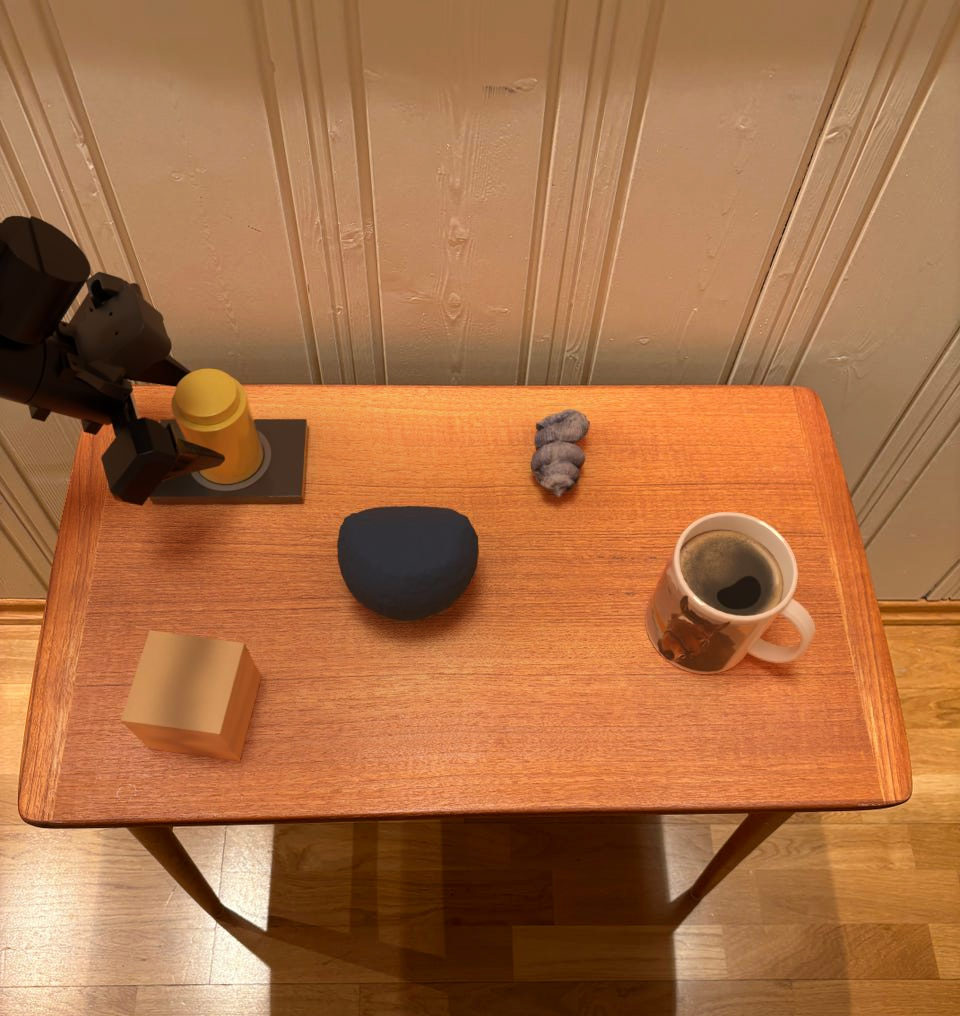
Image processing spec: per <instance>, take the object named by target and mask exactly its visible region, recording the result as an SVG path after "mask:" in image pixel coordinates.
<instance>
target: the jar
mask: <svg viewBox="0 0 960 1016" xmlns="http://www.w3.org/2000/svg"><path fill="white" fill-rule="evenodd" d="M171 410H172V414H173V417H174V419H176V422H177V424H178V426H179V428H180V431H181V433H182V435H183V438H184V440H185V441H188V442H191V443H194V444H197V445H200V446H203V447H206V448H209V449H211V450H214V451H216V452H218V453H220V454H222V455H224V456H225V461H224V462H223V463H222V464H221V465H220V466H218V467H214V468H210V469H205V470H201V471H199V472H200V474H201V475H202V476H203V477H205V478H206V479H208V480H210V481H212V482H215V483H219V484H233V483H237V482H241V481H243V480H245V479H247V478H249V477H250V476H252V475H253V474H254V473H255V472H256V471H257V470H258V468H259V467H260V465H261V463H262V460H263V447H262V444H261V441H260V438H259V434H258V431H257V428H256V424H255V421H254V419H255V418H254V415H253V412H252V409H251V405H250V402H249V399H248V395H247V393H246V390H245V388H244V386H243V385H242V384H241V383H240V382H239V381H238V380H237V379H236V378H235V377H232V376H231V375H229V374H228V373H226V372H225V371H223V370H220V369H216V368H201V369H196V370H194V371H191V373H189V374H188V375H186V376H185V377H184V378H182V379H181V381H180V382H179V383H178V385H177V387H175V391H174V393H173V395H172V398H171Z"/></svg>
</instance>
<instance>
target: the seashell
mask: <svg viewBox="0 0 960 1016" xmlns="http://www.w3.org/2000/svg"><path fill="white" fill-rule="evenodd" d="M590 426H591V421H590V420H588V419H587V415H586V414H584V413H582V412H580V411H579V410H576V409H572V408H569V409H568V408H567V409H563V410H562V411H560V412H557V413H552V414H551V415H548V416H545V417H544V418H542V419H541V420H540V421H537V422H536V423H535V430H536V431H537V432H536V433H535V434H534V441H533V443H534V446H535V450H536V451H535V452H534V453H533V454H532V456H531V460H530V469H531V471H532V474H533V475H534V478H535V480H536V482H537V483H538V484H539V485H540V487H542V488H543V489H545V490H546V491H547V492H548V493H551V494H554V495H555V496H556V497H557V498H561V497H562V496H563V495H564V494H566V493H569V492H570V491H572V490H573V489H574V488H575V487H576V485H577V484H578V483H579V481H580V477H581V471H580V469H582V467H583V466H584V464H585V463H586V452H584V450H583V449H582V447H581V446H579V445H577V444H576V443H579V442H581V441H583V440H584V439H585V437H586V436H587V435H588V433H589V429H590Z"/></svg>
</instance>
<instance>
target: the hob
mask: <svg viewBox="0 0 960 1016" xmlns="http://www.w3.org/2000/svg"><path fill="white" fill-rule="evenodd" d="M307 420H308V419H307V418H254V421H255V424H256V428H257V431H258V434H259V438H260V441H261V444H262V447H263V460H262V463H261V465H260V467H259V468H258V470H257V471H256V472H255V473H254V474H253V475H252V476H250V477H249V478H247V479H245V480H243V481H241V482H237V483H233V484H219V483H215V482H212V481H210V480H208V479H206V478H205V477H203V476H202V475H201V474H200V472H199V471H197V472H193V473H189V474H184V475H181V476H177V477H173V478H170V479H167V480H165V481H162V482H161V483H160V484H159V486H158V487H157V488H156V489H155V491H154V492H153V493H152V494H151V495H150V497H149V498H148V499H149V500H150V502H151V504H152V505H246V504H249V505H250V504H252V505H253V504H260V505H261V504H273V505H274V504H304V503H305V501H304V500H305V485H306V484H305V483H306V467H307V454H308V453H307V452H308V436H309V424H308V421H307ZM159 423H160V424H161V425H162V426H163V427H166V426H167V425H168V423H171V424H172V427H173V429H174V431H175V433H176V435H177V437H178V438H179V439H182V440H184V438H183V435H182V433H181V431H180V428H179V426H178V424H177V422H176V419H175V418H161V419H160V420H159Z"/></svg>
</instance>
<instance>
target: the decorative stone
mask: <svg viewBox="0 0 960 1016" xmlns="http://www.w3.org/2000/svg"><path fill="white" fill-rule="evenodd" d="M474 527H475V526H473V525H472V523H471V521H470V519H469V517H468V516H467V515H465V514H463V513H460V512H458V511H457V510H455V509H452V508H448V507H439V506H427V505H401V506H399V505H397V506H396V505H394V506H392V505H389V506H375V507H371V508H366V509H363V510H360V511H359V512H352V513H350V514H348V515H346V516H345V517H344V518H343V521H342V524H341V525H339V529H338V536H337V541H336V542H337V543H336V548H337V562H338V563H337V564H338V567H339V571H340V575H341V577H342V579H343V582H344V584H345V585H346V587H347V590H348V591H349V592H350V593H351V595H352V596H353V597H354V599H356V601H357V602H358V603H360V605H362V606H363V607H364V608H366V609H367V610H369V611H371V612H372V613H374V614H376V615H378V616H380V617H383V618H385V619H388V620H393V621H396V622H404V623H406V622H409V623H410V622H416V621H422V620H425V619H428V618H430V617H433V616H436V615H437V614H438V615H439V614H440V613H442V612H444V611H446V610H448V609H449V608H450V607H451V606H453V605H454V604H455V603H456V602H457V601H458V600H460V599H461V597H463V594H464V593H465V592H466V591H467V589H468V588H469V587H470V586H471V583H472V581H473V578H474V577H475V574H476V572H477V570H478V561H479V554H480V553H479V551H480V549H479V536H478V534H477V532H476V529H475V528H474Z"/></svg>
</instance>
